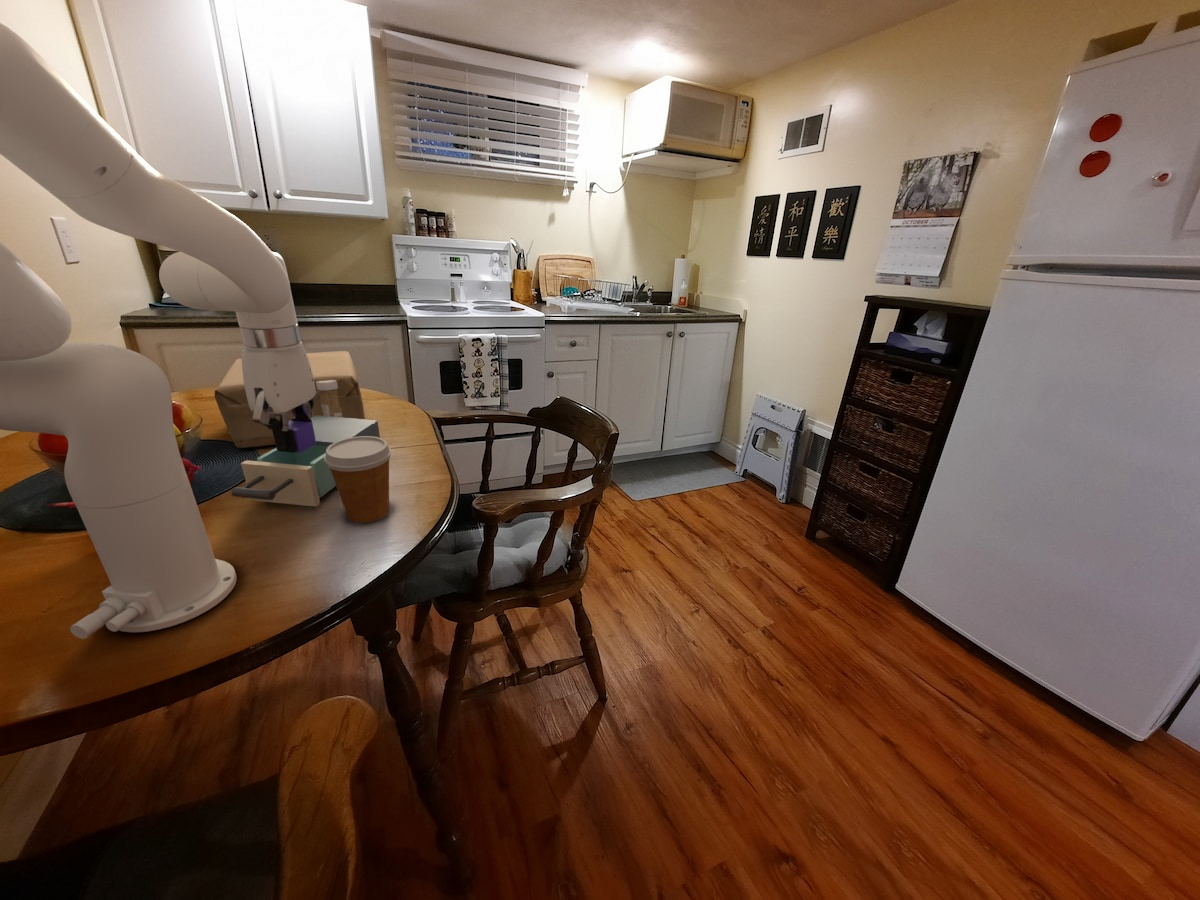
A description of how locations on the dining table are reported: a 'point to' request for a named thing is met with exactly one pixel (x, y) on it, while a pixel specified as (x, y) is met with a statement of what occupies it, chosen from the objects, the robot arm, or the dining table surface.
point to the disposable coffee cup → (361, 476)
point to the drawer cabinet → (341, 429)
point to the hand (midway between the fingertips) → (296, 444)
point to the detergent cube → (302, 435)
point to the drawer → (287, 477)
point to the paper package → (256, 434)
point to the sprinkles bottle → (329, 398)
